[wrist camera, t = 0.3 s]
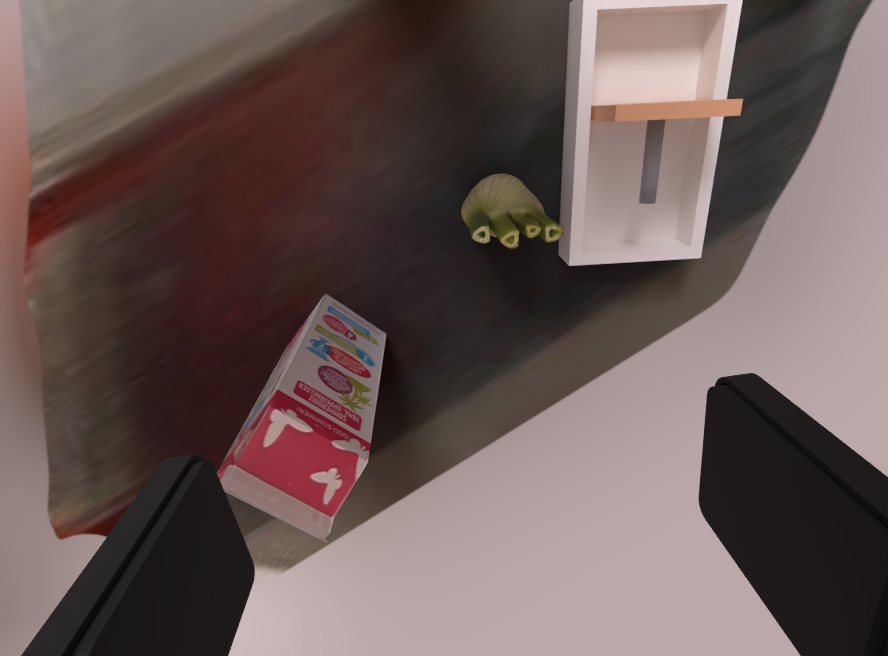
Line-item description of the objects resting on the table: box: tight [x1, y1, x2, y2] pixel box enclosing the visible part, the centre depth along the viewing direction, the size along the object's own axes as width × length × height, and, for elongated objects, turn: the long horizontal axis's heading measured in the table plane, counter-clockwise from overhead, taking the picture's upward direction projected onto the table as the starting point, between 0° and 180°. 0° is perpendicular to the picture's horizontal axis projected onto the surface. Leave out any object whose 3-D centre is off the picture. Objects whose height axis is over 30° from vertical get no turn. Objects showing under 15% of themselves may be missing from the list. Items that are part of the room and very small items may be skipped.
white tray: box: [558, 0, 743, 266], centre depth 39 cm, size 19×11×4 cm, turn 3°
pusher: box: [590, 99, 743, 204], centre depth 37 cm, size 7×8×7 cm
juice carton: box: [217, 294, 386, 543], centre depth 37 cm, size 7×7×22 cm
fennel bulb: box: [461, 173, 564, 249], centre depth 37 cm, size 6×5×12 cm
